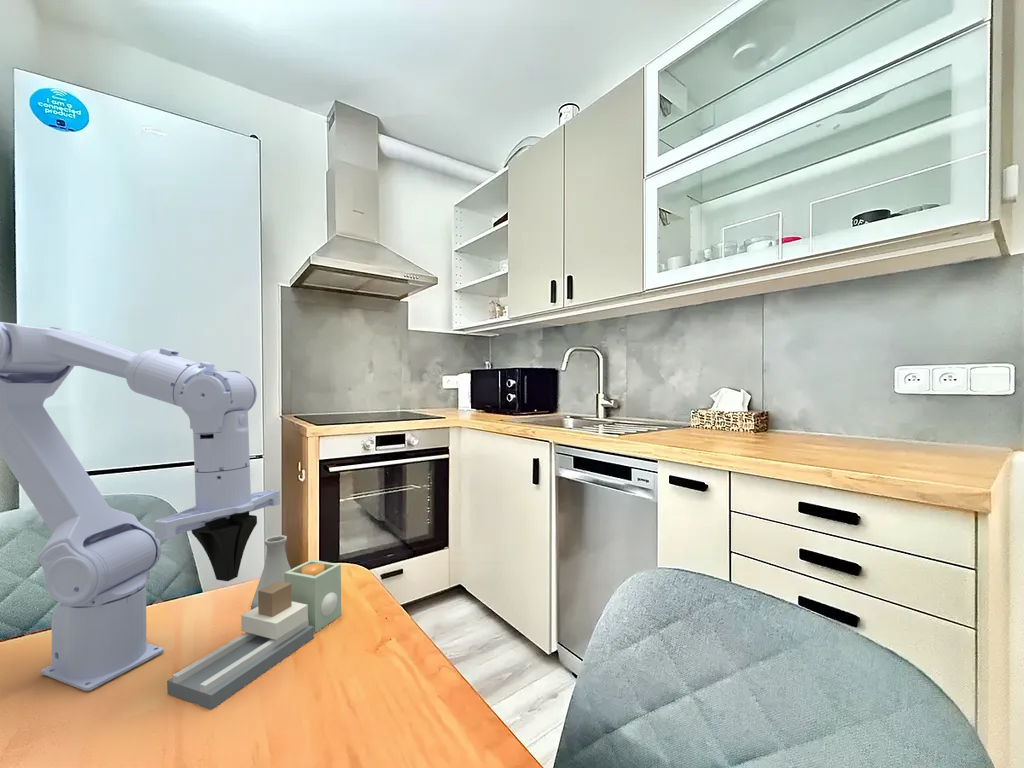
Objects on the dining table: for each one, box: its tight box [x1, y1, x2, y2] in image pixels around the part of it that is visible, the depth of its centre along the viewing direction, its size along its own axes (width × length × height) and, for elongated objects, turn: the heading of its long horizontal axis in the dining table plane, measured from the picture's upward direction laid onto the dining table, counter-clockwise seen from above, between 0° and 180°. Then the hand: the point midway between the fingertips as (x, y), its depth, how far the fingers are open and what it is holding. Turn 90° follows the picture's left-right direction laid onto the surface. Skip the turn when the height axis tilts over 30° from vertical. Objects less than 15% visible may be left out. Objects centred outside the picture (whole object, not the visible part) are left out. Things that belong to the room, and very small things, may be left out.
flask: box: [250, 534, 291, 610], centre depth 70 cm, size 7×7×10 cm
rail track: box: [166, 620, 315, 710], centre depth 54 cm, size 7×14×2 cm, turn 160°
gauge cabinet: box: [284, 559, 342, 634], centre depth 64 cm, size 6×5×8 cm
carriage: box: [240, 581, 308, 640], centre depth 58 cm, size 6×5×5 cm
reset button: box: [302, 563, 324, 576], centre depth 64 cm, size 3×3×2 cm
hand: (227, 578), depth 54 cm, fingers closed
